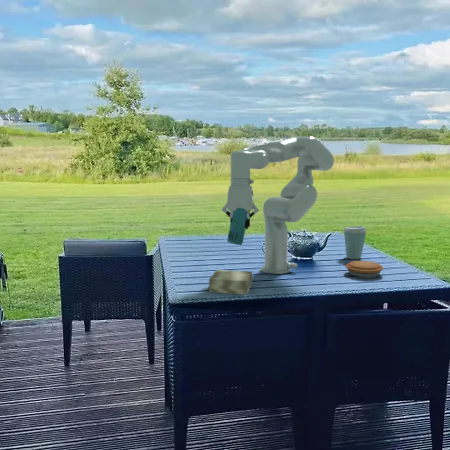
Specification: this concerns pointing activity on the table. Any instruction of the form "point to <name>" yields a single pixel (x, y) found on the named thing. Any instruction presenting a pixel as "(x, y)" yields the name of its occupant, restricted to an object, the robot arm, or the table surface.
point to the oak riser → (230, 282)
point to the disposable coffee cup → (354, 241)
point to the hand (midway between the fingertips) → (240, 227)
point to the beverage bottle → (237, 227)
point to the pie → (364, 268)
